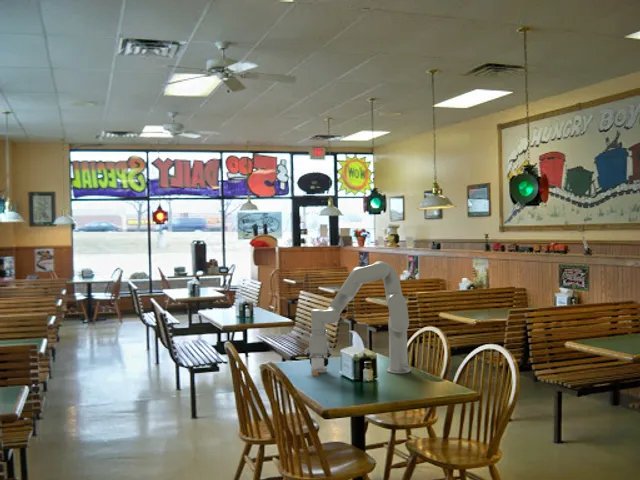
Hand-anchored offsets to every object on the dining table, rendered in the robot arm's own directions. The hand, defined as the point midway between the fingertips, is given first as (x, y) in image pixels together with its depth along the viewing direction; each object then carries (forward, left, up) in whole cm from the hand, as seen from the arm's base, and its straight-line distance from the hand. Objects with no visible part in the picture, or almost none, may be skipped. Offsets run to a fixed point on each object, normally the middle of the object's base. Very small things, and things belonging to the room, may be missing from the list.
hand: (319, 365), depth 332 cm
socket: (0, 0, -1) cm, 1 cm away
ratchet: (-2, +2, -4) cm, 4 cm away
